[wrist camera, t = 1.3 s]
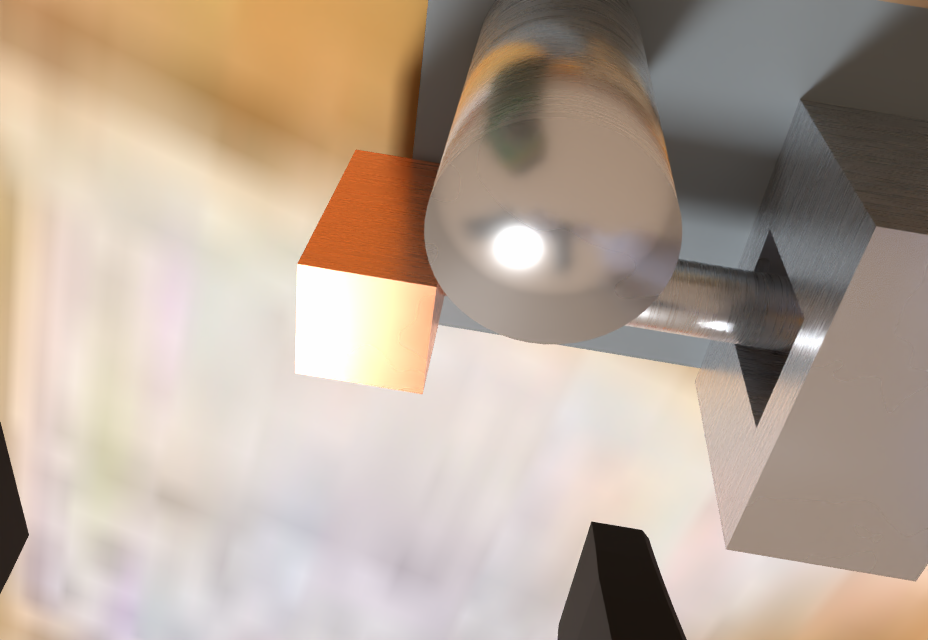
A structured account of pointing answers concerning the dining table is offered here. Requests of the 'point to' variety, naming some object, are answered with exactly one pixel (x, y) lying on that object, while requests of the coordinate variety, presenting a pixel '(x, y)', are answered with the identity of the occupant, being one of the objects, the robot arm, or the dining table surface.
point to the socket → (910, 2)
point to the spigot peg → (555, 177)
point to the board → (712, 107)
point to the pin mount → (833, 355)
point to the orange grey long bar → (421, 297)
